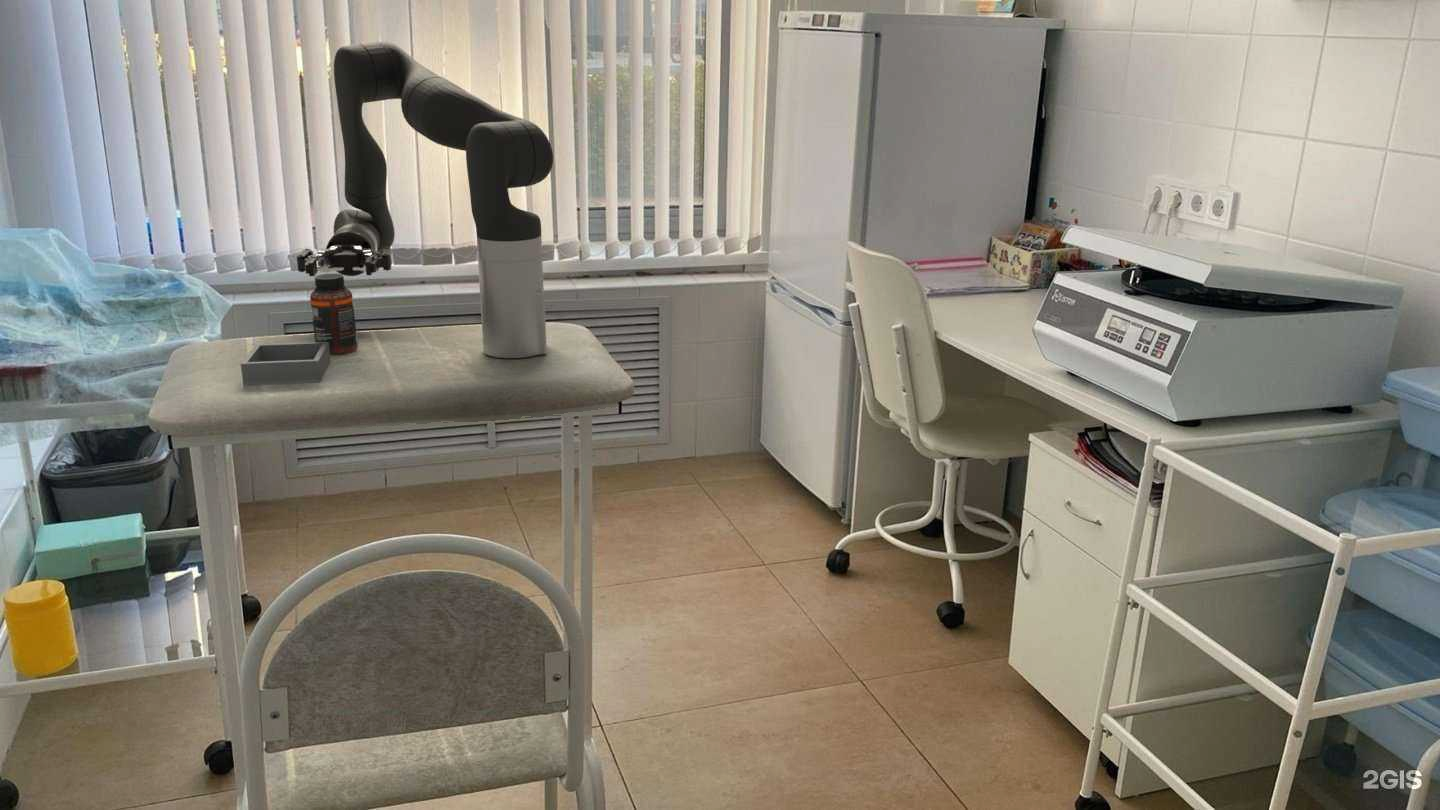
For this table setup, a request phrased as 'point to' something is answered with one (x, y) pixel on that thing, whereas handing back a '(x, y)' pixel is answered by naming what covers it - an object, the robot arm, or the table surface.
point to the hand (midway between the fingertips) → (339, 269)
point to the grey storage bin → (286, 363)
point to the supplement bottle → (333, 314)
